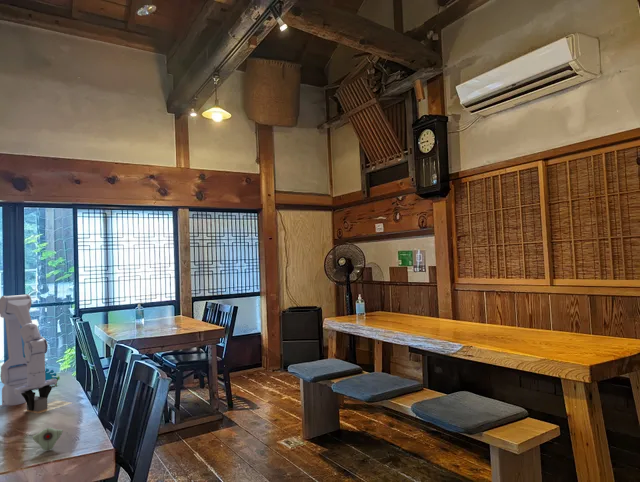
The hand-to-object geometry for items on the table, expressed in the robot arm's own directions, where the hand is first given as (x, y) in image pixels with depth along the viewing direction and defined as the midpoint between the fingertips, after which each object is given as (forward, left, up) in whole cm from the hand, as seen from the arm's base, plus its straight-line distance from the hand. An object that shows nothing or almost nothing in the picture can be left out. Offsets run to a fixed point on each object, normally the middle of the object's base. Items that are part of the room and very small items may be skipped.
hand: (37, 408), depth 169 cm
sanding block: (0, 0, -1) cm, 1 cm away
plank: (0, +4, -2) cm, 5 cm away
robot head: (+40, -20, -2) cm, 45 cm away
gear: (-37, +25, -2) cm, 45 cm away
